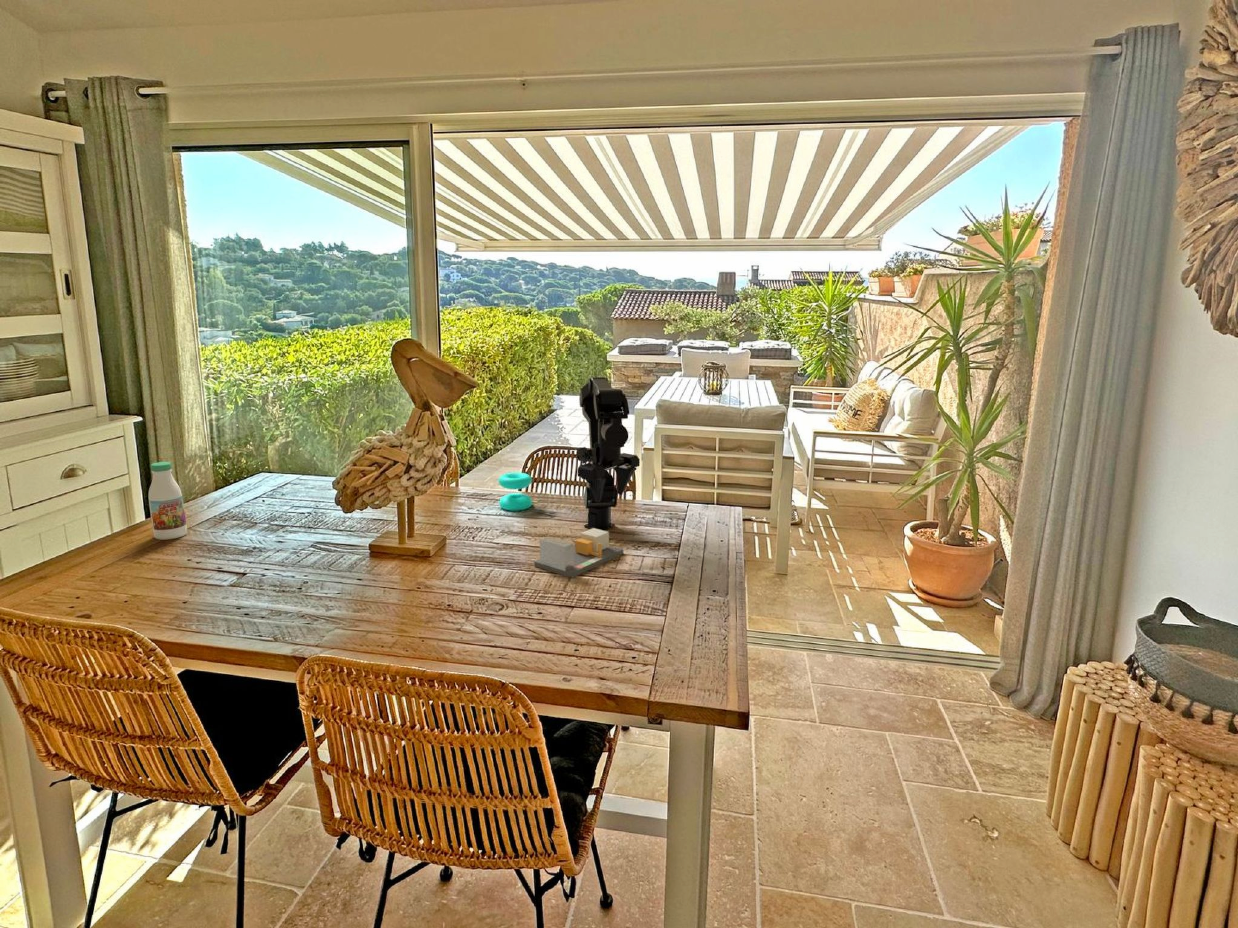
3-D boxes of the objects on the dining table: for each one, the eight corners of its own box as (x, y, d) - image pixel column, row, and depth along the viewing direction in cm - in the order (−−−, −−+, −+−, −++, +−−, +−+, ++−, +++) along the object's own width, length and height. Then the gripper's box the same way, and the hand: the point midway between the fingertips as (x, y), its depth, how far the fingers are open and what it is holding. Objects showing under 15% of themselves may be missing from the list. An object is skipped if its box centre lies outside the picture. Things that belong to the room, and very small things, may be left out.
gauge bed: (586, 543, 192) (586, 517, 190) (623, 553, 185) (623, 526, 183) (534, 566, 176) (533, 537, 175) (571, 577, 169) (571, 548, 168)
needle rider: (580, 549, 183) (580, 536, 182) (603, 556, 179) (603, 542, 178) (574, 551, 182) (574, 538, 181) (598, 558, 177) (598, 544, 177)
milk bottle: (147, 538, 194) (136, 465, 189) (174, 529, 201) (164, 458, 196) (167, 542, 191) (156, 468, 186) (194, 533, 198) (184, 461, 193)
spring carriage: (593, 542, 188) (593, 527, 187) (608, 546, 185) (608, 531, 184) (581, 548, 184) (581, 533, 183) (596, 552, 181) (596, 537, 180)
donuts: (531, 479, 217) (497, 480, 216) (532, 511, 219) (498, 512, 218) (531, 471, 226) (499, 471, 225) (532, 501, 229) (500, 502, 228)
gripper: (607, 429, 195) (607, 485, 199) (560, 440, 181) (561, 500, 185) (641, 434, 189) (640, 492, 193) (595, 446, 175) (595, 509, 178)
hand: (609, 498), depth 187 cm, fingers open, 9 cm apart
